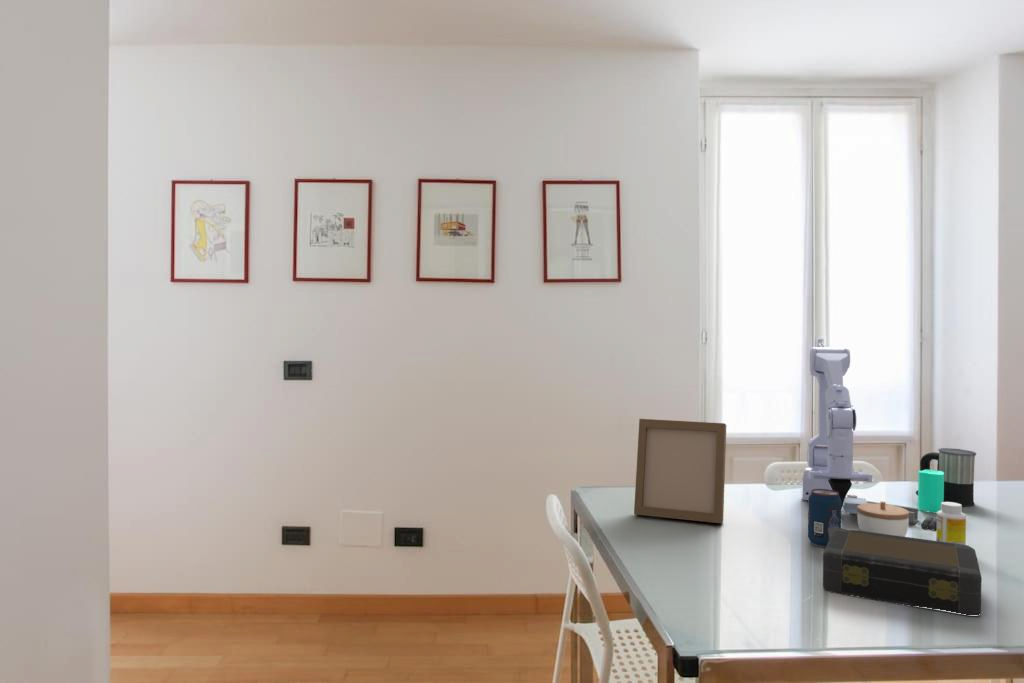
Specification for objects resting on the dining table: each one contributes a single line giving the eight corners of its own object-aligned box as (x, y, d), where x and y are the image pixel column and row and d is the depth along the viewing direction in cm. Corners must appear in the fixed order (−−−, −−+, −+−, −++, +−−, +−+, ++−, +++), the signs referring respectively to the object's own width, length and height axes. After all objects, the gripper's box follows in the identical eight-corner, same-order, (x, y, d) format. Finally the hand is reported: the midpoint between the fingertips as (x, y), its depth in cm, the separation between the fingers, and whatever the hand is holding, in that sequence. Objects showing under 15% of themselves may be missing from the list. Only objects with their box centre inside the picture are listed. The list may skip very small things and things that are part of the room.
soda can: (815, 537, 166) (816, 486, 166) (845, 544, 161) (846, 491, 161) (802, 543, 162) (803, 491, 161) (833, 550, 157) (834, 496, 156)
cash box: (974, 583, 138) (974, 544, 137) (981, 621, 120) (982, 575, 120) (833, 561, 150) (833, 525, 150) (821, 592, 133) (822, 551, 132)
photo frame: (721, 527, 175) (722, 426, 174) (633, 517, 183) (634, 421, 182) (727, 512, 188) (728, 419, 188) (645, 504, 196) (646, 414, 196)
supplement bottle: (971, 551, 157) (971, 505, 157) (955, 554, 154) (956, 508, 154) (946, 544, 162) (946, 499, 162) (930, 547, 159) (931, 502, 159)
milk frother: (975, 501, 202) (976, 450, 202) (975, 513, 189) (976, 458, 189) (917, 495, 210) (918, 445, 210) (914, 506, 197) (915, 453, 197)
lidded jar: (906, 539, 166) (907, 499, 165) (910, 552, 156) (911, 509, 156) (855, 533, 170) (856, 494, 170) (856, 545, 160) (857, 504, 160)
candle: (936, 507, 195) (937, 464, 195) (947, 513, 189) (948, 468, 189) (913, 507, 196) (914, 463, 195) (924, 512, 190) (925, 468, 189)
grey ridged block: (943, 525, 172) (942, 532, 172) (948, 518, 179) (948, 524, 179) (920, 522, 175) (920, 528, 175) (926, 514, 182) (926, 521, 182)
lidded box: (839, 498, 191) (839, 488, 191) (864, 500, 189) (864, 490, 189) (844, 512, 176) (845, 502, 176) (871, 515, 174) (871, 505, 174)
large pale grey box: (845, 514, 188) (845, 502, 187) (851, 509, 192) (851, 498, 192) (913, 524, 178) (913, 513, 178) (917, 519, 182) (918, 508, 182)
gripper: (813, 456, 176) (812, 511, 176) (876, 459, 173) (875, 514, 173) (807, 451, 183) (806, 504, 183) (867, 454, 180) (866, 507, 180)
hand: (839, 508), depth 179 cm, fingers closed
